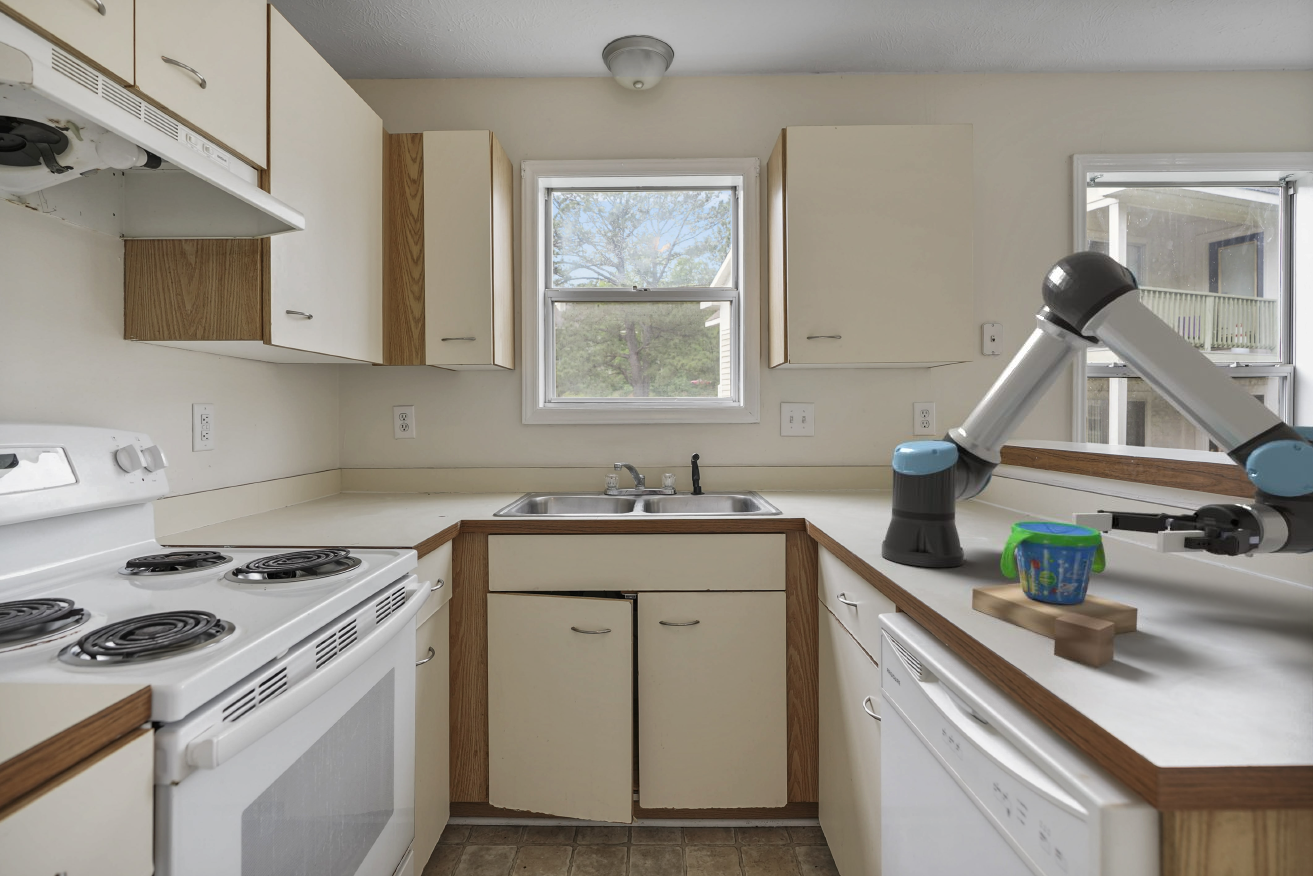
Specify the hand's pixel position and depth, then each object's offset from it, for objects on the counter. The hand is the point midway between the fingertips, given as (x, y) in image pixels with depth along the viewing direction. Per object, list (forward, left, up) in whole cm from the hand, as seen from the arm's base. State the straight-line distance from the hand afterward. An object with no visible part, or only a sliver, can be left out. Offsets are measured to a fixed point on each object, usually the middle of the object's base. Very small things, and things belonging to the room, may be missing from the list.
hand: (1113, 531), depth 87 cm
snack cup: (-2, -10, -10) cm, 14 cm away
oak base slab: (-2, -10, -12) cm, 16 cm away
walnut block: (+9, -19, -13) cm, 24 cm away
